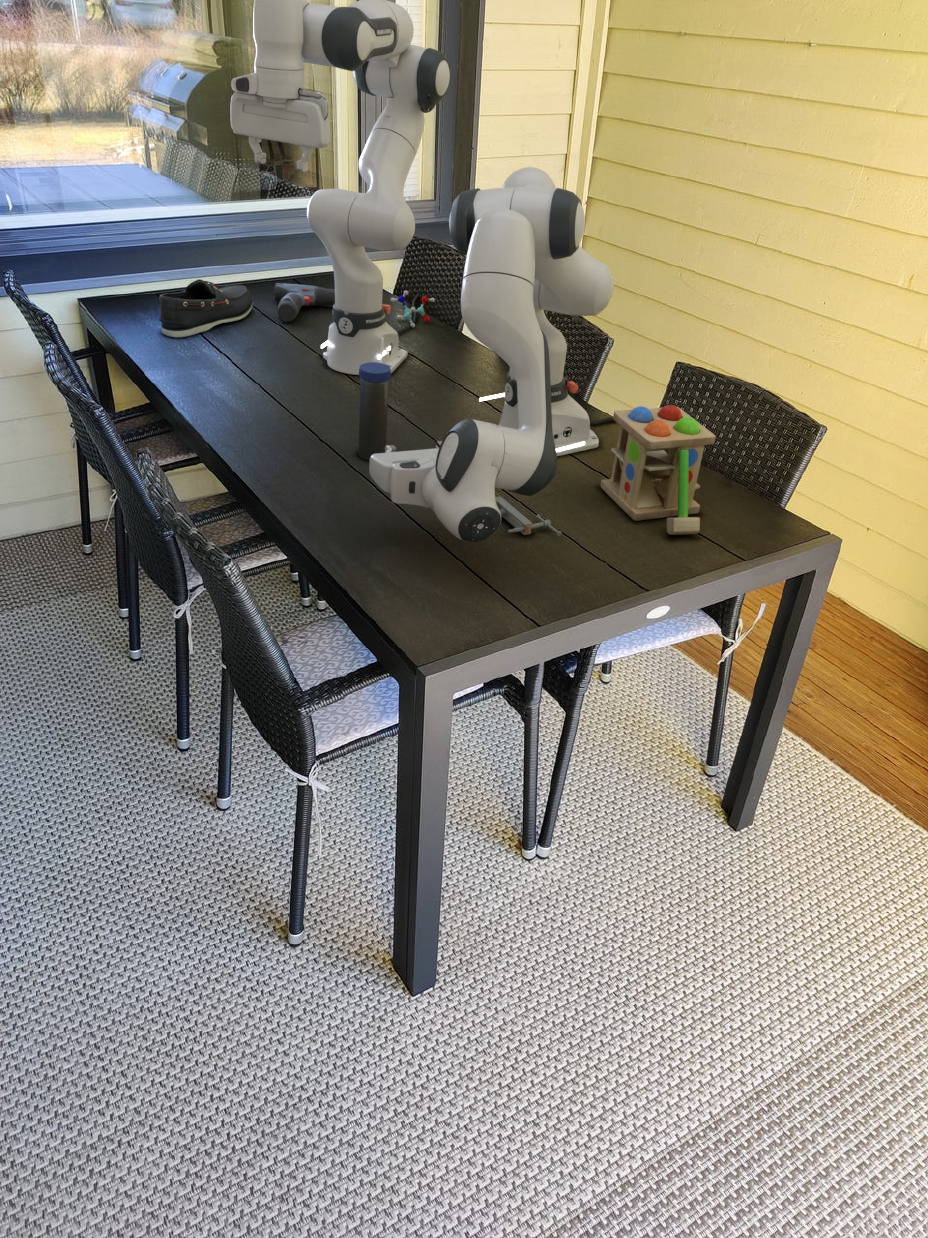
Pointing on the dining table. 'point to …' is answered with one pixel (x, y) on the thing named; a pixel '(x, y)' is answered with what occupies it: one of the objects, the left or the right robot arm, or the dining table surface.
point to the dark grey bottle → (373, 418)
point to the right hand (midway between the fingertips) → (414, 446)
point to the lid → (375, 372)
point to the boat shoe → (202, 307)
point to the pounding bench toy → (658, 466)
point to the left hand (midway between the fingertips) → (281, 166)
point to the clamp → (521, 519)
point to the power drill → (300, 298)
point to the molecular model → (412, 309)
